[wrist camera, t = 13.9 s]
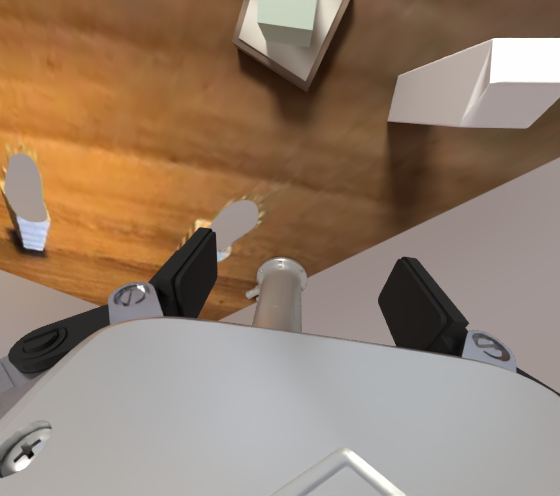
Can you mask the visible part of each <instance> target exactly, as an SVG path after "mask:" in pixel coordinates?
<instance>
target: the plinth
mask: <svg viewBox="0 0 560 496" xmlns="http://www.w3.org/2000/svg"><path fill="white" fill-rule="evenodd" d="M349 1H350V0H317V3H316V9H315V16H314V23H313V30H312V37H311V43H310V47H303V46H296V45H289V44H282V43H275V42H268V41H265V39H264V36H263V34H262V32H261V30H260V28H259V25H258V23H257V14H258V0H243V4H242V7H241V11H240V15H239V18H238V22H237V25H236V29H235V32H234V36H233V39H232V43H233V44H234V45H235V46H236V47H237V48H238V49H240V50H241V51H243V52H244V53H246V54H248V55H249V56H251V57H252V58H254V59H255V60H257V61H259V62H260V63H262V64H263V65H265V66H266V67H268V68H270V69H271V70H273V71H274V72H276V73H277V74H279V75H280V76H282V77H284V78H285V79H287V80H288V81H290V82H291V83H293V84H295V85H296V86H298V87H299V88H301V89H302V90H304V91H306V92H307V91H308V89H309V87H310V85H311V82H312V80H313V78H314V76H315V74H316V72H317V70H318V68H319V65H320V63H321V61H322V59H323V57H324V55H325V53H326V50H327V48H328V46H329V44H330V42H331V40H332V38H333V36H334V33H335V31H336V29H337V27H338V25H339V23H340V21H341V18H342V16H343V14H344V12H345V10H346V8H347V6H348V4H349Z"/></svg>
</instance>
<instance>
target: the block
mask: <svg viewBox="0 0 560 496" xmlns="http://www.w3.org/2000/svg"><path fill="white" fill-rule="evenodd" d="M316 3H317V0H258V14H257V23H258V25H259V28H260V30H261V32H262V34H263V36H264V39H265V41H268V42H275V43H282V44H289V45H296V46H303V47H310V43H311V37H312V30H313V23H314V16H315V9H316Z"/></svg>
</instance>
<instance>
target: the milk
mask: <svg viewBox="0 0 560 496" xmlns="http://www.w3.org/2000/svg"><path fill="white" fill-rule="evenodd" d="M559 97H560V38H494V39H491V40H488V41H486V42H483V43H481V44H478V45H476V46H473V47H470V48H468V49H465V50H463V51H460V52H458V53H455V54H453V55H450V56H447V57H445V58H442V59H440V60H437V61H435V62H432V63H430V64H427V65H424V66H422V67H419V68H417V69H414V70H412V71H409V72H407V73H404V74H401V75H399V76H398V79H397V83H396V87H395V91H394V95H393V99H392V104H391V108H390V112H389V116H388V120H387V121H389V122H401V123H414V124H427V125H440V126H453V127H484V128H528V127H529V126H530V125H531V124H532V123H533V122H534V121H536V120H537V119H538V118H539V117H540V116H541V115H542V114H543V113H544V112H545V111H546V110H547V109H548V108H549V107H550V106H551V105H552V104H553V103H554V102H555V101H556V100H557V99H558V98H559Z"/></svg>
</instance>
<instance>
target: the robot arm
mask: <svg viewBox="0 0 560 496" xmlns="http://www.w3.org/2000/svg"><path fill="white" fill-rule="evenodd" d="M216 279H217V249H216V233H215V232H213V231H212V229H209V228H202V227H200V228H198V229H197V231H196V232H195V233H194V234H193V235H192V236H191V237H190V239H189V240H188V241H187V242H186V243H185V244H184V245H183V246H182V248H181V249H180V250H177V251H176V252H175V253H174V254H173V255H172V257H171V258H170V259H169V260H168V261H167V262H166V263H165V264H164V265H163V267H162V268H161V269H160V270H159V271H158V272H157V273H156V274H155V275H154V277H153V278H152V279H151V280H150V281H149V282H148V283H147V282H132V283H128V284H125V285H123V286H121V287H119V288H117V289H116V290H115V291H114V292H112V293H111V295H110V296H109V299H108V304H107V305H104V306H101V307H98V308H95V309H92V310H90V311H87V312H84V313H81V314H78V315H75V316H72V317H69V318H67V319H63V320H61V321H58V322H55V323H52V324H49V325H46V326H43V327H41V328H38V329H36V330H34V331H32V332H30V333H28V334H27V335H25V336H24V337H22V338H21V339H20V340H19V341H17V342H16V343H15V344H14V346H13V347H12V348H11V349H10V352H9V354H8V355H7V356H6V357H3V358H2V359H0V496H560V394H559V393H558V392H556V391H555V390H553V389H551V388H550V387H548V386H546V385H545V384H543V383H542V382H540V381H538V380H537V379H535V378H533V377H532V376H530V375H529V374H527V373H525V372H524V371H522V370H520V369H519V368H517V367H516V359H515V356H514V354H513V353H512V351H511V350H510V349H509V348H508V347H507V346H506V345H505V344H504V343H502V342H501V341H500V340H499V339H497V338H495V337H494V336H492V335H490V334H488V333H486V332H483V331H479V330H470V331H469V332H468V331H467V329H466V328H465V327H466V326H467V325H468V324H469V323H468V321H467V320H466V319H465V317H464V316H463V315H462V314H461V312H460V311H459V310H458V309H457V308H456V306H455V305H454V304H453V303H452V301H451V300H450V299H449V298H448V296H447V295H446V294H445V293H444V292H443V290H442V289H441V288H440V287H439V285H438V284H437V283H436V282H435V281H434V279H433V278H432V277H431V276H430V274H429V273H428V272H427V271H426V269H425V268H424V267H423V266H422V265H421V263H420V262H419V261H418V260H417V259H416V258H409V257H402V258H401V259H398V260H397V262H396V264H395V266H394V268H393V270H392V272H391V274H390V276H389V278H388V280H387V282H386V284H385V285H384V287H383V289H382V291H381V293H380V296H379V298H378V303H379V306H380V308H381V311H382V313H383V315H384V318H385V320H386V323H387V325H388V327H389V330H390V332H391V335H392V337H393V339H394V342H395V344H396V346H397V347H396V346H389V345H382V344H376V343H369V342H363V341H356V340H349V339H342V338H335V337H328V336H321V335H315V334H307V333H302V326H301V292H302V291H303V290H304V289H305V287H306V285H307V273H306V271H305V269H304V267H303V266H302V265H301V264H300V263H298V262H297V261H295V260H293V259H290V258H285V257H276V258H272V259H269V260H267V261H266V262H264V263H263V264H262V265H261V266H260V268H259V270H258V273H257V282H258V285H257V286H256V287H255V288H254V289H251V290H249V291H247V292H246V296H247V298H249V299H250V298H252V297H254V296H256V295H259V296H258V297H256V300H257V306H256V311H255V315H254V320H253V324H252V326H250V325H243V324H236V323H229V322H220V321H213V320H205V319H197V317H198V315H199V313H200V311H201V309H202V307H203V305H204V303H205V301H206V299H207V297H208V295H209V293H210V291H211V289H212V287H213V285H214V283H215V281H216Z"/></svg>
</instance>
